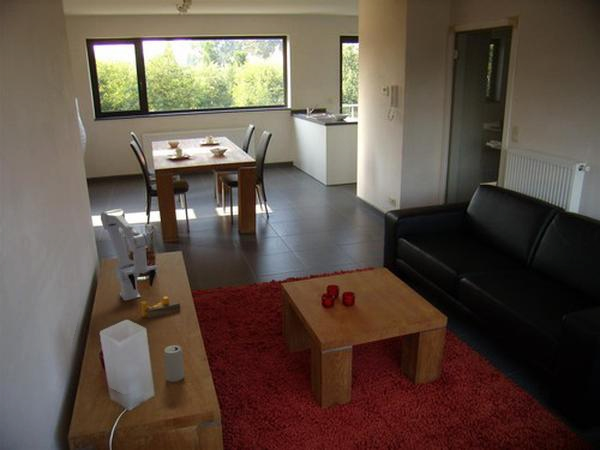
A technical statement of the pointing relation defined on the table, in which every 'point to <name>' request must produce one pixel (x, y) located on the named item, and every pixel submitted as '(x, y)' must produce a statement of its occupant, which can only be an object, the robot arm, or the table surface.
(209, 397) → the table surface
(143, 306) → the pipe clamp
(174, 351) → the beverage can
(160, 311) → the bar
